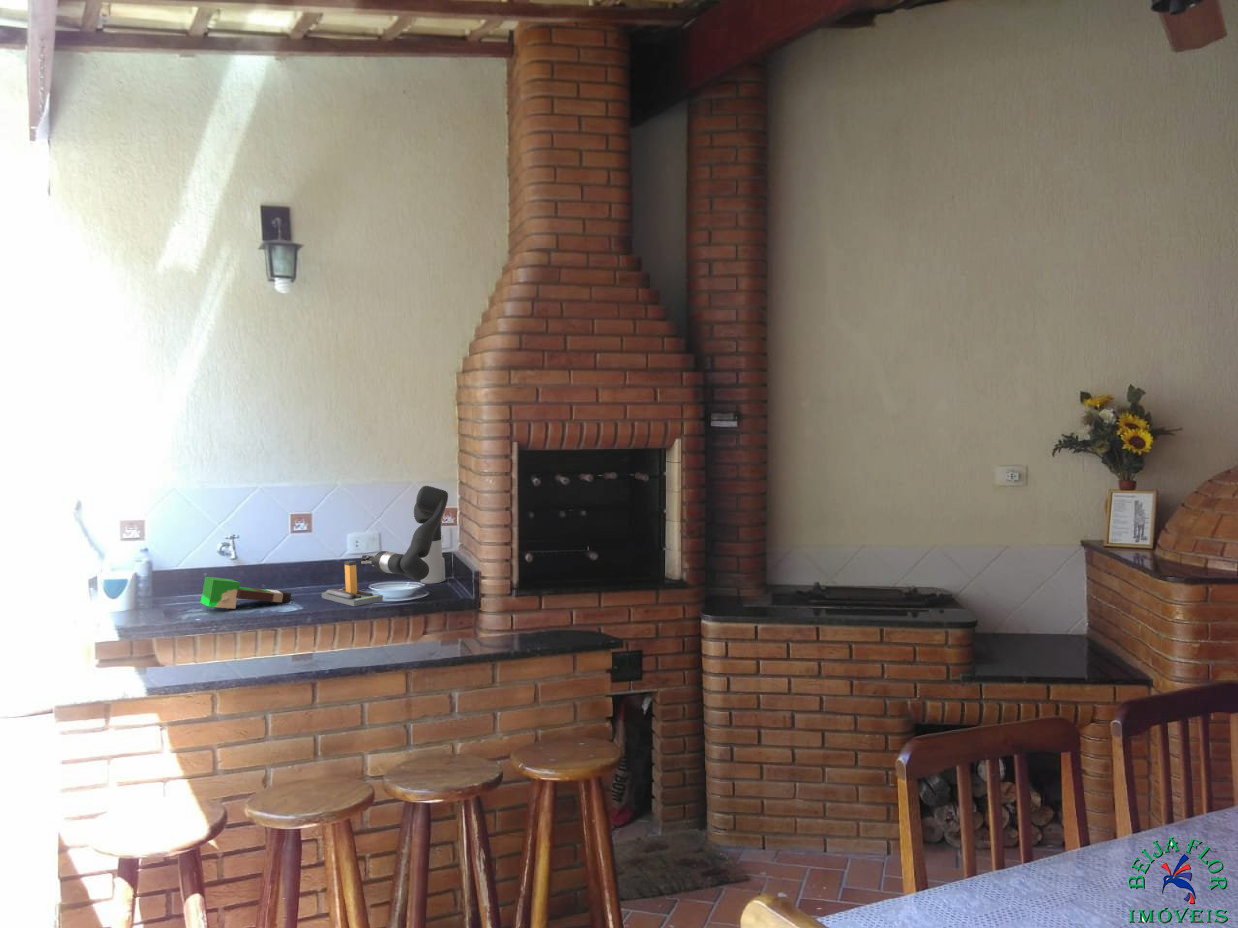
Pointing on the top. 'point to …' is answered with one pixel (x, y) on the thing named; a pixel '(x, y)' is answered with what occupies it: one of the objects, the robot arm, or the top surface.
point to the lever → (350, 576)
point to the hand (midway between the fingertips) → (363, 558)
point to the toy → (236, 593)
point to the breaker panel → (352, 601)
